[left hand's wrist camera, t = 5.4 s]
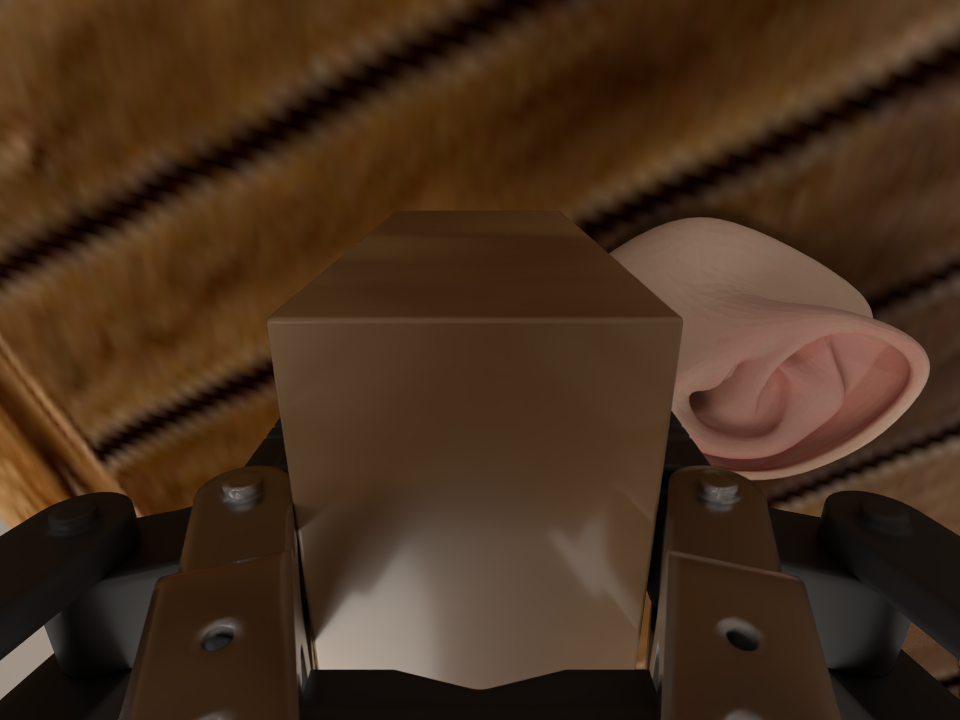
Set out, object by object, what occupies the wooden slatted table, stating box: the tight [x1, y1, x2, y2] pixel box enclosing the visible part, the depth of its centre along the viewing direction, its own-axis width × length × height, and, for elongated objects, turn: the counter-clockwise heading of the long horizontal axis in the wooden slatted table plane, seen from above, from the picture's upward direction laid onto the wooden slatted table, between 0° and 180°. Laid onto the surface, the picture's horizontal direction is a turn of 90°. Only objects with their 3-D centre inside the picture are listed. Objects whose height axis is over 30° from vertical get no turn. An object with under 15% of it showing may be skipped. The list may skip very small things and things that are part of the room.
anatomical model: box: [609, 217, 930, 480], centre depth 23 cm, size 13×4×12 cm
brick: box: [267, 211, 683, 689], centre depth 12 cm, size 5×7×10 cm, turn 0°
